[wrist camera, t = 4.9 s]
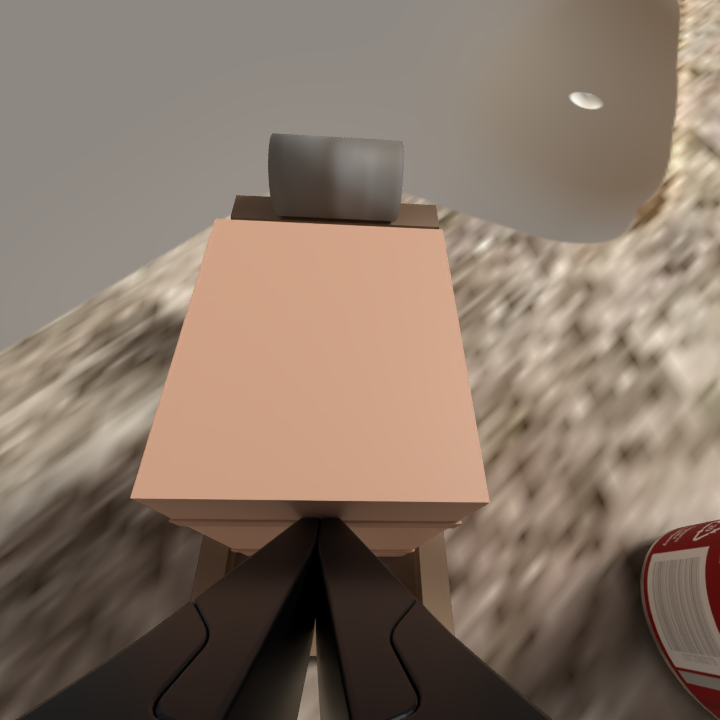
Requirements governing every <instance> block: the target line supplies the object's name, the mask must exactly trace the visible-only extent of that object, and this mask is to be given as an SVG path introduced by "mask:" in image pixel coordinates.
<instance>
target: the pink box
mask: <svg viewBox="0 0 720 720" xmlns="http://www.w3.org/2000/svg"><path fill="white" fill-rule="evenodd" d="M130 499H132V500H134V501H136V502H139V503H141V504H143V505H145V506H147V507H149V508H151V509H153V510H155V511H157V512H159V513H161V514H163V515H165V516H167V517H169V522H171V523H173V524H175V525H177V526H187V527H189V528H191V529H193V530H196V531H198V532H200V533H202V534H204V535H206V536H208V537H210V538H212V539H214V540H216V541H218V542H220V543H222V544H224V545H226V546H228V547H230V548H231V551H233V552H240V553H242V554H244V555H246V556H252V555H253V554H254V553H256V552H257V551H258V550H259V549H261V548H262V547H263V546H265V545H266V544H267V543H269V542H270V541H271V540H273V539H274V538H275V537H276V536H278V535H279V534H280V533H282V532H283V531H284V530H286V529H287V528H288V527H290V526H291V525H292V524H294V523H295V522H296V521H297V520H299V519H300V518H319V519H320V522H321V519H322V518H340V519H341V520H342V521H343V522H344V523H345V524H346V525H347V526H348V527H349V528H350V529H351V530H352V531H353V532H354V533H355V534H356V535H357V536H358V538H359V539H360V540H361V541H362V542H363V543H364V544H365V545H366V546H367V547H368V548H369V549H370V550H371V551H372V552H373V553H374V554H375V555H376V557H402V556H404V555H405V554H407V553H413V552H415V548H417V547H418V546H420V545H422V544H423V543H425V542H426V541H428V540H430V539H431V538H433V537H435V536H436V535H438V534H439V533H441V532H443V531H444V530H446V529H448V528H456V527H457V526H459V525H461V524H462V523H461V520H462V519H464V518H465V517H467V516H469V515H470V514H472V513H473V512H475V511H477V510H478V509H480V508H482V507H483V506H485V505H486V504H488V503H490V502H489V496H488V490H487V484H486V478H485V472H484V467H483V461H482V455H481V449H480V443H479V438H478V432H477V426H476V420H475V414H474V409H473V403H472V397H471V391H470V385H469V380H468V374H467V368H466V362H465V356H464V350H463V345H462V339H461V333H460V327H459V321H458V316H457V310H456V304H455V298H454V292H453V287H452V281H451V275H450V269H449V263H448V257H447V252H446V246H445V240H444V234H443V230H440V229H419V228H398V227H376V226H355V225H334V224H313V223H291V222H270V221H249V220H227V219H215V221H214V225H213V228H212V231H211V234H210V238H209V241H208V244H207V247H206V251H205V254H204V257H203V261H202V264H201V267H200V270H199V274H198V277H197V280H196V284H195V287H194V290H193V293H192V297H191V300H190V303H189V307H188V310H187V313H186V316H185V320H184V323H183V326H182V330H181V333H180V336H179V339H178V343H177V346H176V349H175V353H174V356H173V359H172V362H171V366H170V369H169V372H168V376H167V379H166V382H165V385H164V389H163V392H162V395H161V399H160V402H159V405H158V408H157V412H156V415H155V418H154V421H153V425H152V428H151V431H150V435H149V438H148V441H147V444H146V448H145V451H144V454H143V458H142V461H141V464H140V467H139V471H138V474H137V477H136V481H135V484H134V487H133V490H132V494H131V497H130Z"/></svg>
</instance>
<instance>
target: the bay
mask: <svg viewBox="0 0 720 720" xmlns="http://www.w3.org/2000/svg"><path fill="white" fill-rule="evenodd" d="M268 156H269V157H268V173H269V188H270V197H260V196H240V195H236V199H235V203H234V207H233V210H232V214H231V220H249V221H270V222H291V223H313V224H334V225H355V226H376V227H398V228H419V229H439V222H438V216H437V210H436V205H419V204H400V202H401V194H402V183H403V170H404V148H403V142H402V141H394V140H393V141H392V140H376V139H359V138H342V137H325V136H324V137H323V136H308V135H290V134H272V135H271V138H270V143H269V154H268ZM249 557H250V556H246V555H244V554H242V553H240V552H233V551H231V548H230V547H228V546H226V545H224V544H222V543H220V542H218V541H216V540H214V539H212V538H210V537H208V536H206V535H203V540H202V545H201V550H200V555H199V560H198V565H197V570H196V575H195V580H194V586H193V591H192V596H191V601H190V602H193V600H194V599H195V598H197V597H198V596H199V595H201V594H202V593H203V592H205V591H206V590H207V589H208V588H210V587H211V586H212V585H214V584H215V583H216V582H218V581H219V580H220V579H222V578H223V577H224V576H225V575H227V574H228V573H229V572H231V571H232V570H233V569H235V568H236V567H237V566H239V565H240V564H241V563H242V562H244V561H245V560H246V559H248V558H249ZM377 558H378V559H379V560H380V561H381V562H382V563H383V564H384V565H385V566H386V567H387V568H388V569H389V570H390V571H391V572H392V573H393V574H394V576H395V577H396V578H397V579H398V580H399V581H400V582H401V583H402V584H403V585H404V586H405V587H406V588H407V589H408V590H409V591H410V592H411V593H412V595H413V596H414V597H415V598H416V599H417V601H420V602H421V603H422V604H423V605H424V606H425V607H426V608H427V609H428V610H429V611H430V612H431V614H432V615H433V616H435V617H436V618H437V619H438V620H439V621H440V622H441V623H442V624H443V625H444V626H445V627H446V628H447V629H448V630H449V631H450V632H451V633H452V634H453V635H454V636H455V634H454V624H453V615H452V606H451V596H450V587H449V578H448V568H447V559H446V550H445V540H444V531H443V532H441V533H439V534H438V535H436V536H435V537H433V538H431V539H430V540H428V541H426V542H425V543H423V544H422V545H420V546H418V547H417V548H415V552H413V553H407V554H405V555H404V556H402V557H377ZM310 656H317V654H316V620H315V630H314V636H313V642H312V647H311V652H310Z"/></svg>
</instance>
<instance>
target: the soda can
mask: <svg viewBox="0 0 720 720" xmlns="http://www.w3.org/2000/svg"><path fill="white" fill-rule="evenodd" d="M640 591H641V600H642V606H643V611H644V614H645V618H646V621H647V624H648V627H649V630H650V633H651V635H652V637H653V640H654V642H655V644H656V646H657V648H658V650H659V652H660V654H661V655H662V657H663V659H664V660H665V662H666V664H667V665H668V667H669V668H670V670H671V671H672V673H673V674H674V676H675V677H676V678H677V679H678V681H679V682H680V683H681V685H682V686H683V687H684V688H685V689H686V690H687V692H688V693H689V694H690V695H691V696H692V697H693V698H694V699H695V700H696V701H697V702H698V703H699V704H700V705H701V706H702V707H703V708H704V709H706V710H707V711H708V712H709V713H710V714H712V715H713V716H714V717H715V718H717V719H718V720H720V520H716V521H711V522H706V523H701V524H696V525H691V526H686V527H681V528H678V529H674V530H671V531H669V532H667V533H665V534H663V535H662V536H661V537H659V538H658V539H657V540H656V541H655V542H654V543H653V544H652V545H651V547H650V549H649V550H648V552H647V554H646V556H645V559H644V562H643V565H642V570H641V579H640Z"/></svg>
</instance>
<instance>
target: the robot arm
mask: <svg viewBox="0 0 720 720" xmlns="http://www.w3.org/2000/svg"><path fill="white" fill-rule="evenodd" d="M315 620H316V654H317V670H318V687H319V704H320V720H552V719H551V718H550V717H548V716H547V715H546V714H545V713H544V712H542V711H541V710H540V709H539V708H538V707H537V706H535V705H534V704H533V703H532V702H531V701H529V700H528V699H527V698H526V697H525V696H524V695H522V694H521V693H520V692H519V691H518V690H516V689H515V688H514V687H513V686H512V685H510V684H509V683H508V682H507V681H506V680H505V679H503V678H502V677H501V676H500V675H499V674H497V673H496V672H495V671H494V670H493V669H492V668H490V667H489V666H488V665H487V664H486V663H484V662H483V661H482V660H481V659H480V658H479V657H478V656H476V655H475V654H474V653H473V652H472V651H471V650H470V649H468V648H467V647H466V646H465V645H464V644H463V643H462V642H461V641H459V640H458V639H457V638H456V637H455V636H454V635H453V634H452V633H451V632H450V631H449V630H448V629H447V628H446V627H445V626H444V625H443V624H442V623H441V622H440V621H439V620H438V619H437V618H436V617H435V616H433V615H432V614H431V612H430V611H429V610H428V609H427V608H426V607H425V606H424V605H423V604H422V603H421V602H420V601H417V599H416V598H415V597H414V596H413V595H412V593H411V592H410V591H409V590H408V589H407V588H406V587H405V586H404V585H403V584H402V583H401V582H400V581H399V580H398V579H397V578H396V577H395V576H394V574H393V573H392V572H391V571H390V570H389V569H388V568H387V567H386V566H385V565H384V564H383V563H382V562H381V561H380V560H379V559H378V558H377V557H376V555H375V554H374V553H373V552H372V551H371V550H370V549H369V548H368V547H367V546H366V545H365V544H364V543H363V542H362V541H361V540H360V539H359V538H358V536H357V535H356V534H355V533H354V532H353V531H352V530H351V529H350V528H349V527H348V526H347V525H346V524H345V523H344V522H343V521H342V520H341V519H340V518H322V519H321V522H320V519H319V518H300V519H299V520H297V521H296V522H295V523H294V524H292V525H291V526H290V527H288V528H287V529H286V530H284V531H283V532H282V533H280V534H279V535H278V536H276V537H275V538H274V539H273V540H271V541H270V542H269V543H267V544H266V545H265V546H263V547H262V548H261V549H259V550H258V551H257V552H256V553H254V554H253V555H252V556H250V557H249V558H248V559H246V560H245V561H244V562H242V563H241V564H240V565H239V566H237V567H236V568H235V569H233V570H232V571H231V572H229V573H228V574H227V575H225V576H224V577H223V578H222V579H220V580H219V581H218V582H216V583H215V584H214V585H212V586H211V587H210V588H208V589H207V590H206V591H205V592H203V593H202V594H201V595H199V596H198V597H197V598H195V599H194V600H193V602H189V603H188V604H186V605H185V606H184V607H182V608H181V609H180V610H178V611H177V612H176V613H174V614H173V615H172V616H170V617H169V618H168V619H166V620H165V621H163V622H162V623H161V624H159V625H158V626H157V627H155V628H154V629H152V630H151V631H150V632H148V633H147V634H146V635H144V636H143V637H141V638H140V639H138V640H137V641H135V642H134V643H132V644H131V645H129V646H128V647H126V648H125V649H123V650H122V651H120V652H119V653H117V654H116V655H114V656H113V657H111V658H110V659H108V660H107V661H105V662H104V663H102V664H101V665H99V666H98V667H96V668H95V669H93V670H92V671H90V672H89V673H87V674H85V675H84V676H82V677H81V678H79V679H78V680H76V681H75V682H73V683H72V684H70V685H68V686H67V687H65V688H64V689H62V690H61V691H59V692H58V693H56V694H54V695H53V696H51V697H50V698H48V699H47V700H45V701H44V702H42V703H41V704H39V705H37V706H36V707H34V708H33V709H31V710H30V711H28V712H27V713H25V714H23V715H22V716H20V717H19V718H17V719H16V720H297V717H298V712H299V707H300V702H301V697H302V692H303V687H304V682H305V677H306V672H307V667H308V662H309V657H310V652H311V647H312V642H313V636H314V630H315Z"/></svg>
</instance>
